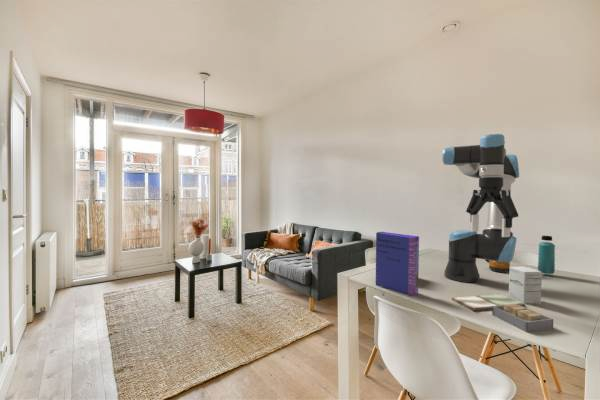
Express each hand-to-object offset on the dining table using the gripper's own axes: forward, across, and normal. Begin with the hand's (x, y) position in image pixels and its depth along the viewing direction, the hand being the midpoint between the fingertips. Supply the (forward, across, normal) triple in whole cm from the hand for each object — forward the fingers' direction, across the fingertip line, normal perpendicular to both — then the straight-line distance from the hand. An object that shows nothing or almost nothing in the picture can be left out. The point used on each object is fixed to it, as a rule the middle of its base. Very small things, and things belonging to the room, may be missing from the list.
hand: (489, 234), depth 107 cm
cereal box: (+27, -22, -25) cm, 43 cm away
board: (+27, 0, 0) cm, 27 cm away
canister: (+27, -37, +43) cm, 63 cm away
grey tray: (+27, +15, -2) cm, 31 cm away
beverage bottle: (+27, -25, +60) cm, 70 cm away
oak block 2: (+26, +18, -2) cm, 32 cm away
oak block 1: (+26, +12, -2) cm, 29 cm away
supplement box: (+27, 0, +17) cm, 32 cm away
